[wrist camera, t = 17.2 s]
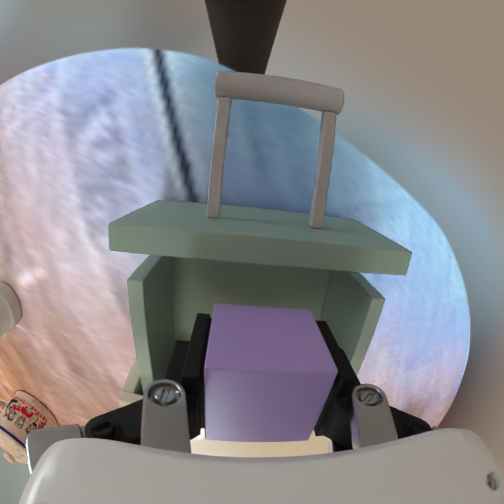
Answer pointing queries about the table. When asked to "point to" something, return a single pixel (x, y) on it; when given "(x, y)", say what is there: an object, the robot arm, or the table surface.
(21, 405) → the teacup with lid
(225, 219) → the drawer
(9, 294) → the bottle
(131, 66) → the table surface
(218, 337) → the purple cube
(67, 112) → the table surface
